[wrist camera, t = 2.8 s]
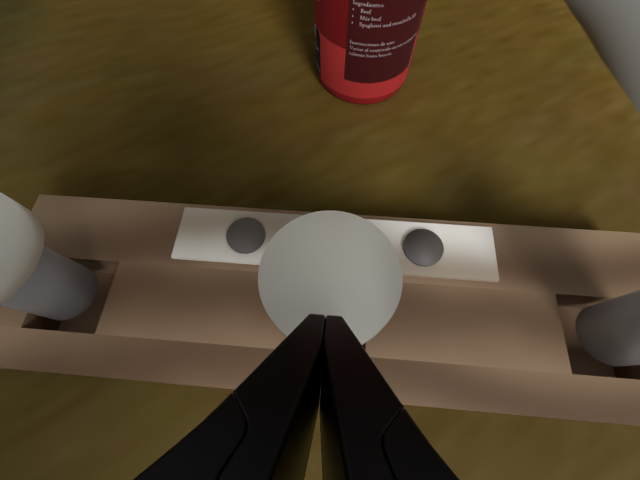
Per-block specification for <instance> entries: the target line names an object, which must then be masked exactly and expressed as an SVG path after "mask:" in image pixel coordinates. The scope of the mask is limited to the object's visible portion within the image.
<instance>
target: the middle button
mask: <svg viewBox="0 0 640 480" xmlns="http://www.w3.org/2000/svg"><path fill="white" fill-rule="evenodd" d="M402 286H403V275H402V268H401V263H400V260H399V257H398V254H397V252H396V250H395V248H394V246H393V245H392V243H391V242H390V240H389V239H388V238H387V236H386V235H385V234H384V233H383V232H382V231H381V230H380V229H379V228H377V227H376V226H375V225H374V224H372V223H371V222H369V221H368V220H366V219H364V218H362V217H360V216H357V215H354V214H351V213H347V212H342V211H328V210H326V211H317V212H313V213H308V214H306V215H303V216H300V217H298V218H296V219H294V220H292V221H291V222H289V223H288V224H286V225H285V226H284V227H282V228H281V229H280V230H279V231H278V232H277V233H276V234H275V235H274V236H273V238H272V239H271V240H270V242H269V243H268V245H267V247H266V249H265V250H264V253H263V255H262V258H261V261H260V265H259V271H258V288H259V293H260V297H261V301H262V304H263V306H264V308H265V310H266V312H267V314H268V315H269V317H270V318H271V320H272V321H273V322H274V324H275V325H276V326H277V328H278V329H279V330H280V331H281V332H282V333H283V334H284V335H285V336H286V337H287V336H288V335H289V334H290V333H291V332H292V331H293V330H294V329H295V328H296V327H297V326H298V325H299V324H300V323H301V322H302V321H303V320H304V319H305V318H306V317H307V316H308V315H309V314H322V315H325V319H326V316H327V315H335V316H342V317H343V318H344V320H345V321H346V323H347V324H348V326H349V327H350V329H351V330H352V331H353V333H354V334H355V336H356V337H357V339H358V340H359V342H360V343H361V345H363V344H365V343H366V342H368V341H369V340H371V339H372V338H373V337H374V336H376V335H377V334H378V333H379V331H380V330H381V329H382V328H383V327H384V326H385V325H386V324H387V323H388V322H389V320H390V319H391V317H392V316H393V314H394V312H395V310H396V308H397V306H398V304H399V301H400V298H401V293H402Z"/></svg>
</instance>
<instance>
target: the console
mask: <svg viewBox="0 0 640 480" xmlns="http://www.w3.org/2000/svg"><path fill="white" fill-rule="evenodd" d="M31 211H32V212H33V213H34V214H35V215H36V216H37V217H38V219H39V220H40V222H41V224H42V227H43V231H44V246H46V247H48V248H50V249H52V250H53V251H55V252H57V253H59V254H61V255H63V256H65V257H67V258H69V259H71V260H73V261H75V262H77V263H79V264H81V265H83V266H85V267H86V268H88V269H90V270H92V271H93V272H94V274H95V275H96V277H97V280H98V291H97V294H96V297H95V299H94V301H93V302H92V304H91V305H90V306H89V307H88V308H87V309H86V310H85V311H84V312H83V313H81V314H80V315H78V316H76V317H74V318H72V319H68V320H54V319H50V318H46V317H42V316H38V315H35V314H31V313H27V312H23V311H19V310H15V309H12V308H8V307H4V306H0V368H3V369H15V370H26V371H37V372H48V373H59V374H70V375H81V376H92V377H103V378H114V379H126V380H137V381H148V382H159V383H170V384H181V385H192V386H203V387H214V388H225V389H236V388H237V387H238V386H239V385H240V384H241V383H242V382H243V381H244V380H245V379H246V378H247V377H248V376H249V375H250V374H251V373H252V372H253V371H254V370H255V369H256V368H257V367H258V366H259V365H260V364H261V363H262V361H263V360H264V359H265V358H266V357H267V356H268V355H269V354H270V353H271V352H272V351H273V350H274V349H275V348H276V347H277V346H278V345H279V344H280V343H281V342H282V341H283V340H284V339H285V338H286V336H285V335H284V334H283V333H282V332H281V331H280V330H279V329H278V328H277V326H276V325H275V324H274V322H273V321H272V320H271V318H270V317H269V315H268V314H267V312H266V310H265V308H264V306H263V304H262V301H261V297H260V293H259V288H258V271H259V265H260V261H261V258H262V255H263V253H264V250H265V249H266V247H267V245H268V243H269V242H270V240H271V239H272V238H273V236H274V235H275V234H276V233H277V232H278V231H279V230H280V229H281V228H282V227H284V226H285V225H286V224H288V223H289V222H291V221H292V220H294V219H296V218H298V217H300V216H303V215H306V214H308V213H313V212H306V211H290V210H275V209H259V208H244V207H228V206H213V205H198V204H182V203H167V202H151V201H136V200H120V199H105V198H89V197H74V196H59V195H43V194H39V196H38V198H37V200H36V202H35V204H34V206H33V208H32V210H31ZM357 216H360V217H362V218H364V219H366V220H368V221H369V222H371V223H372V224H374V225H375V226H376V227H377V228H379V229H380V230H381V231H382V232H383V233H384V234H385V235H386V236H387V238H388V239H389V240H390V242H391V243H392V245H393V246H394V248H395V250H396V252H397V254H398V257H399V260H400V263H401V268H402V275H403V286H402V293H401V298H400V301H399V304H398V306H397V308H396V310H395V312H394V314H393V316H392V317H391V319H390V320H389V322H388V323H387V324H386V325H385V326H384V327H383V328H382V329H381V330H380V331H379V333H378V334H377V335H376V336H374V337H373V338H372V339H371V340H369V341H368V342H366V343H365V344H363V345H362V346H363V348H364V349H365V350H366V352H367V353H368V355H369V356H370V358H371V359H372V361H373V362H374V364H375V365H376V367H377V368H378V370H379V371H380V372H381V374H382V375H383V377H384V378H385V380H386V381H387V383H388V384H389V386H390V387H391V389H392V390H393V392H394V393H395V394H396V396H397V397H398V399H399V400H400V402H401V403H402V404H403V405H414V406H425V407H436V408H447V409H458V410H469V411H481V412H492V413H503V414H514V415H525V416H536V417H547V418H558V419H569V420H580V421H591V422H603V423H614V424H625V425H636V426H640V365H632V366H610V365H606V364H604V363H602V362H600V361H598V360H596V359H595V358H593V357H592V356H591V355H590V354H589V353H588V352H587V351H586V350H585V349H584V348H583V346H582V345H581V343H580V341H579V339H578V337H577V333H576V328H575V324H576V319H577V316H578V314H579V313H580V312H581V311H582V310H583V309H584V308H586V307H588V306H591V305H594V304H597V303H600V302H604V301H607V300H610V299H613V298H616V297H619V296H622V295H626V294H629V293H632V292H635V291H638V290H640V233H630V232H615V231H599V230H584V229H568V228H553V227H537V226H522V225H506V224H491V223H476V222H460V221H445V220H429V219H414V218H398V217H383V216H367V215H357ZM320 389H321V388H320Z"/></svg>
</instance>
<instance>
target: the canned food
mask: <svg viewBox="0 0 640 480" xmlns="http://www.w3.org/2000/svg"><path fill="white" fill-rule="evenodd" d="M426 2H427V0H314V17H315V47H316V68H317V72H318V75H319V77H320V80H321V82H322V84H323V86H324V87H325V88H326V89H327V90H328V91H329V92H330V93H331V94H333V95H334V96H336V97H338V98H340V99H341V100H344V101H347V102H351V103H356V104H372V103H377V102H381V101H384V100H386V99H388V98H390V97H391V96H393V95H394V94H395V93H396V92H397V91H398V90H399V88H400V87H401V86H402V84H403V83H404V81H405V79H406V77H407V74H408V70H409V66H410V62H411V59H412V55H413V51H414V47H415V44H416V40H417V36H418V32H419V29H420V25H421V21H422V17H423V14H424V10H425V6H426Z"/></svg>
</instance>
